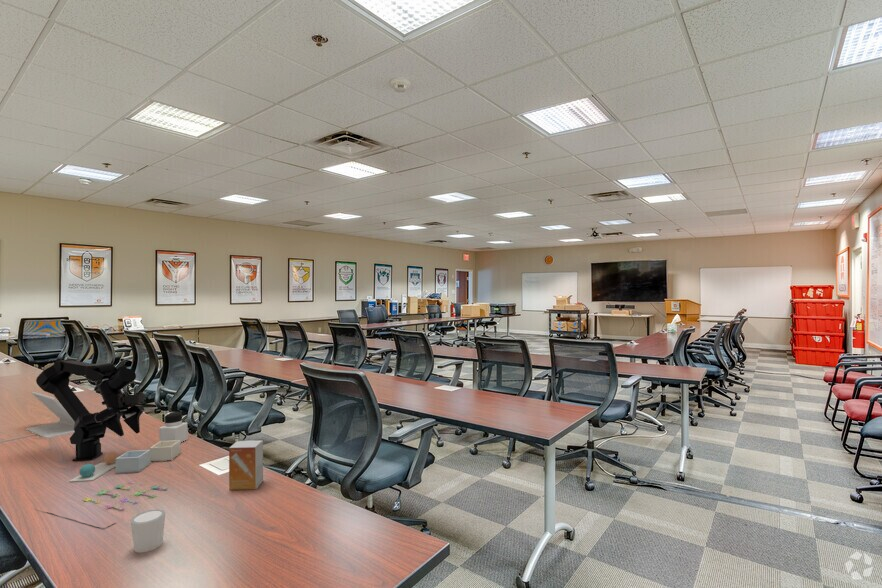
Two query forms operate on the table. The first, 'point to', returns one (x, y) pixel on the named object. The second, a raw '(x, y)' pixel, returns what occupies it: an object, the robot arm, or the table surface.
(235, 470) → the small box
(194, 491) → the table surface
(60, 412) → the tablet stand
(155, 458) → the open cream box
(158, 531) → the white oval container
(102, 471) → the mat
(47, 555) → the table surface
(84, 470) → the teal ball
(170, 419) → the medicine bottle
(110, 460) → the terracotta ball
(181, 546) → the table surface
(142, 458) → the grey open box
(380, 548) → the table surface
